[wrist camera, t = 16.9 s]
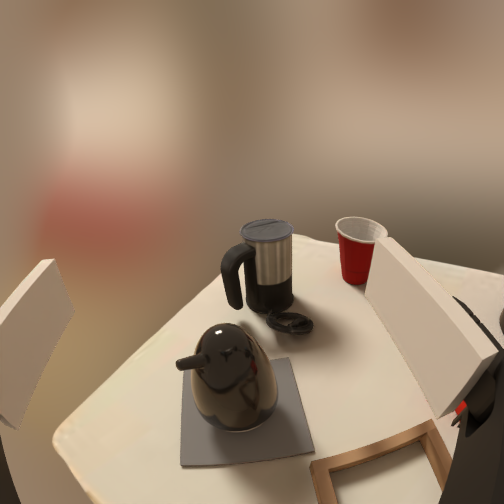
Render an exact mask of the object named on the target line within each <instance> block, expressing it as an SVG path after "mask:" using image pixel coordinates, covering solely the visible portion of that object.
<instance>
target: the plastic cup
mask: <svg viewBox="0 0 504 504" xmlns="http://www.w3.org/2000/svg"><path fill="white" fill-rule="evenodd" d="M335 225H336V229H337V232H338V239H339V248H340V261H341V269H342V276H343V279H344V280H345V281H346V282H348V283H350V284H354V285H360V284H364V283H365V282H366V281H367V279H368V276H369V272H370V267H371V262H372V256H373V251H374V246H375V240H376V238H387V235H388V232H387V231H386V229H385V228H384V227H383V226H382V225H380V224H379V223H377V222H375V221H372V220H370V219H365V218H361V217H345V218H342V219H340V220H338V221H337V222H336V224H335Z"/></svg>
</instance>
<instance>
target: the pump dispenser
mask: <svg viewBox="0 0 504 504" xmlns="http://www.w3.org/2000/svg"><path fill="white" fill-rule="evenodd" d="M176 367H177V369H178V370H180V371H184V370H191V388H192V394H193V399H194V403H195V406H196V408H197V410H198V412H199V414H200V415H201V417H202V418H203V419H204V420H205V421H206V422H207V423H209V424H210V425H212V426H214V427H216V428H218V429H221V430H225V431H229V432H245V431H249V430H252V429H254V428H256V427H258V426H260V425H261V424H262V423H264V422H265V421H266V420H267V419H268V418H269V417H270V416H271V415H272V414H273V412H274V411H275V409H276V406H277V403H278V397H279V392H278V384H277V380H276V376H275V373H274V370H273V367H272V365H271V363H270V361H269V359H268V357H267V355H266V353H265V352H264V350H263V349H262V347H261V346H260V345H259V343H258V342H257V341H256V340H255V338H254V337H253V336H252V335H251V334H250V333H248V332H247V331H246V330H245V329H243V328H242V327H240V326H238V325H235V324H231V323H221V324H217V325H214V326H212V327H210V328H209V329H208V330H206V331H205V332H204V334H203V335H202V336H201V338H200V339H199V341H198V343H197V346H196V348H195V352H194V355H193V356H189V357H186V358H182V359H179V360H177V361H176Z"/></svg>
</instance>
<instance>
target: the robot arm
mask: <svg viewBox="0 0 504 504" xmlns="http://www.w3.org/2000/svg"><path fill="white" fill-rule="evenodd" d="M364 295H365V297H366V298H367V300H368V301H369V303H370V305H371V306H372V308H373V309H374V311H375V312H376V314H377V315H378V317H379V319H380V320H381V322H382V323H383V325H384V327H385V328H386V330H387V331H388V333H389V335H390V336H391V338H392V340H393V341H394V343H395V345H396V346H397V348H398V350H399V351H400V353H401V355H402V356H403V358H404V360H405V362H406V363H407V365H408V367H409V369H410V370H411V372H412V374H413V376H414V377H415V379H416V381H417V383H418V385H419V386H420V388H421V390H422V392H423V394H424V396H425V397H426V399H427V401H428V403H429V405H430V407H431V409H432V411H433V413H434V415H435V417H436V419H439V418H441V417H443V416H445V415H447V414H449V413H451V412H453V411H454V410H455V409H456V408H457V407H458V406H459V405H460V403H461V402H462V401H463V400H464V402H465V403H466V405H467V406H466V407H465V408H464V409H463V410H462V411H461V412H460V414H459V415H458V416H457V417H456V418H455V419H454V420H453V422H452V424H451V426H454V425H455V424H456V423H457V422H458V421H459V420H460V419H461V423H460V424H459V425H458V426H457V427H458V428H460V429H459V434H458V439H457V443H456V448H455V452H454V456H453V460H452V464H451V467H450V471H449V474H448V477H447V481H446V484H445V487H444V490H443V493H442V495H441V498H440V501H439V504H504V349H503V348H502V347H501V345H500V344H499V343H498V342H497V340H496V339H495V338H494V337H493V335H492V334H491V333H490V332H489V331H488V329H487V328H486V327H485V326H484V325H483V324H482V323H480V320H479V319H478V318H477V317H476V316H475V315H473V312H472V311H471V310H470V309H469V308H468V307H467V306H466V305H465V304H464V303H463V302H461V301H460V300H458V299H457V298H455V297H454V296H451V295H450V294H449V293H448V292H447V291H446V290H445V289H444V288H443V287H442V285H441V284H440V283H439V282H438V281H437V280H436V279H435V278H434V277H433V276H432V275H431V274H430V273H429V272H428V271H427V270H426V269H425V268H424V267H423V266H422V265H421V264H419V263H418V262H417V261H416V260H415V259H414V258H413V257H412V256H411V255H410V254H409V253H408V252H407V251H406V250H405V249H404V248H402V247H401V246H400V245H399V244H398V243H397V242H396V241H395V240H394V239H393V238H391V237H390V238H376V240H375V246H374V251H373V256H372V262H371V267H370V272H369V276H368V281H367V286H366V290H365V294H364ZM74 312H75V310H74V307H73V305H72V303H71V300H70V298H69V296H68V293H67V291H66V288H65V286H64V283H63V281H62V278H61V275H60V273H59V270H58V267H57V264H56V261H55V259H47V260H42V261H41V262H40V263H39V264H38V265H37V266H36V267H35V268H34V269H33V270H32V271H31V273H30V274H29V275H28V276H27V277H26V278H25V279H24V280H23V281H22V283H21V284H20V285H19V286H18V287H17V288H16V289H15V291H14V292H13V293H12V294H11V295H10V297H9V298H8V299H7V300H6V301H5V303H4V304H3V305H2V306H1V308H0V420H1V421H2V422H3V423H4V424H5V425H7V426H9V427H11V428H13V429H15V430H19V427H20V425H21V422H22V419H23V416H24V414H25V411H26V409H27V406H28V404H29V402H30V399H31V397H32V394H33V392H34V390H35V388H36V385H37V383H38V381H39V379H40V377H41V374H42V372H43V370H44V368H45V366H46V364H47V362H48V360H49V358H50V356H51V354H52V352H53V350H54V348H55V346H56V345H57V342H58V341H59V339H60V337H61V335H62V333H63V331H64V330H65V328H66V326H67V324H68V323H69V321H70V319H71V317H72V316H73V314H74ZM500 326H501V329H502V332H503V334H504V309H503V311H502V313H501V315H500ZM0 504H21V502H20V500H19V497H18V495H17V492H16V489H15V486H14V484H13V481H12V478H11V474H10V471H9V468H8V465H7V461H6V457H5V454H4V450H3V445H2V441H1V437H0Z"/></svg>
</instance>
